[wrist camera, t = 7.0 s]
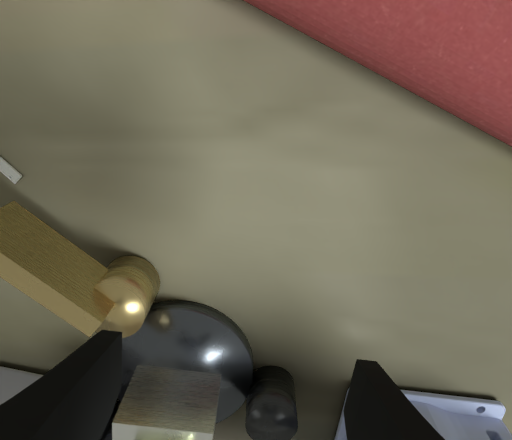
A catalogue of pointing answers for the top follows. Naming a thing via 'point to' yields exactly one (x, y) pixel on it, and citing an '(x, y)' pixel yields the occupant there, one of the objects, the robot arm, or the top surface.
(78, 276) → the brass knob
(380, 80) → the top surface
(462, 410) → the robot arm
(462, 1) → the blood vessel
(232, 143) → the top surface
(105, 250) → the top surface
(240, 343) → the base
